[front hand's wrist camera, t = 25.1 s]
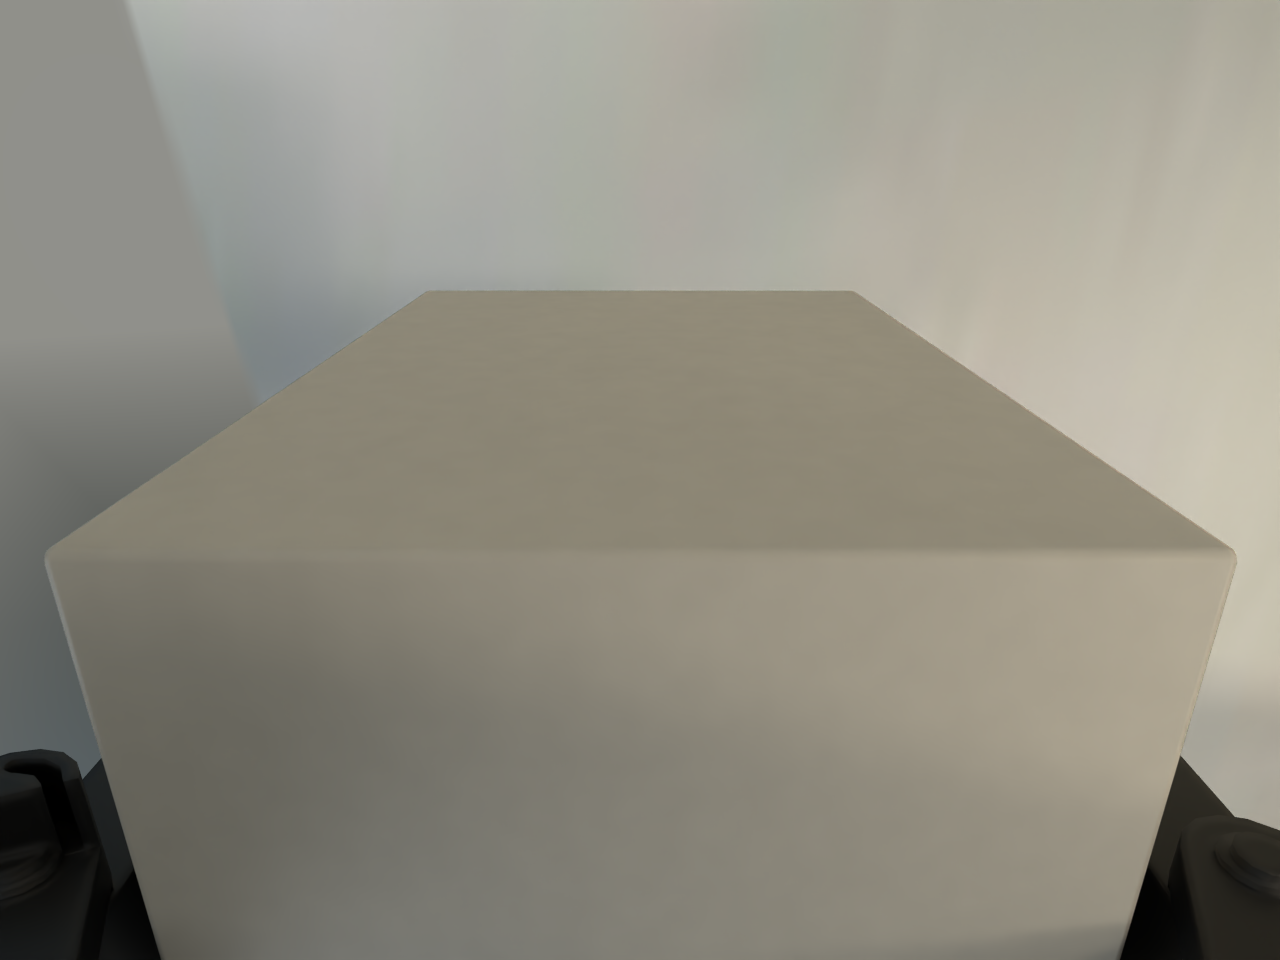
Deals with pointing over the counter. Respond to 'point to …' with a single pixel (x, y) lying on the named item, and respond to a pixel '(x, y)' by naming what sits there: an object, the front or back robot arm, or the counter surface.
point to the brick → (640, 649)
